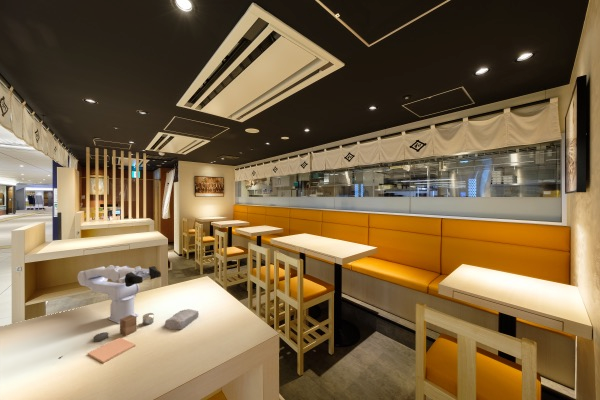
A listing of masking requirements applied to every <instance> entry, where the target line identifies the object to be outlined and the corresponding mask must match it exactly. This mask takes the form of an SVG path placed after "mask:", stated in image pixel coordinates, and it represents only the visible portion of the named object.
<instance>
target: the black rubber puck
mask: <svg viewBox="0 0 600 400" xmlns="http://www.w3.org/2000/svg"><path fill="white" fill-rule="evenodd" d="M108 338H109V332H108V331H107V332H106V331H105V332H104V331H103V332H100V333H97V334H95V335H94V336H93V339H92V340H93V341H92V342H93V343H101V342H103V341H106V340H107V339H108Z"/></svg>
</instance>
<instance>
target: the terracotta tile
mask: <svg viewBox="0 0 600 400" xmlns="http://www.w3.org/2000/svg"><path fill="white" fill-rule="evenodd" d="M136 346H137V345H136V344H135V343H133V342H130V341H129V340H126V339H125V338H122V337H118V338H116V339H114V340H112V341H110V342H108V343H105V344H103V345H101V346H100V347H97V348H95V349H93V350H90V351H89V352H87V355H88V356H89V357H91V358H92V359H95V360H97V361H98V362H100V363H102V364H104V363H107V362H109V361H110V360H112V359H114V358H116V357H118V356H119V355H122V354H123V353H125V352H128V351H129V350H131V349H133V348H135V347H136Z"/></svg>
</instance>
